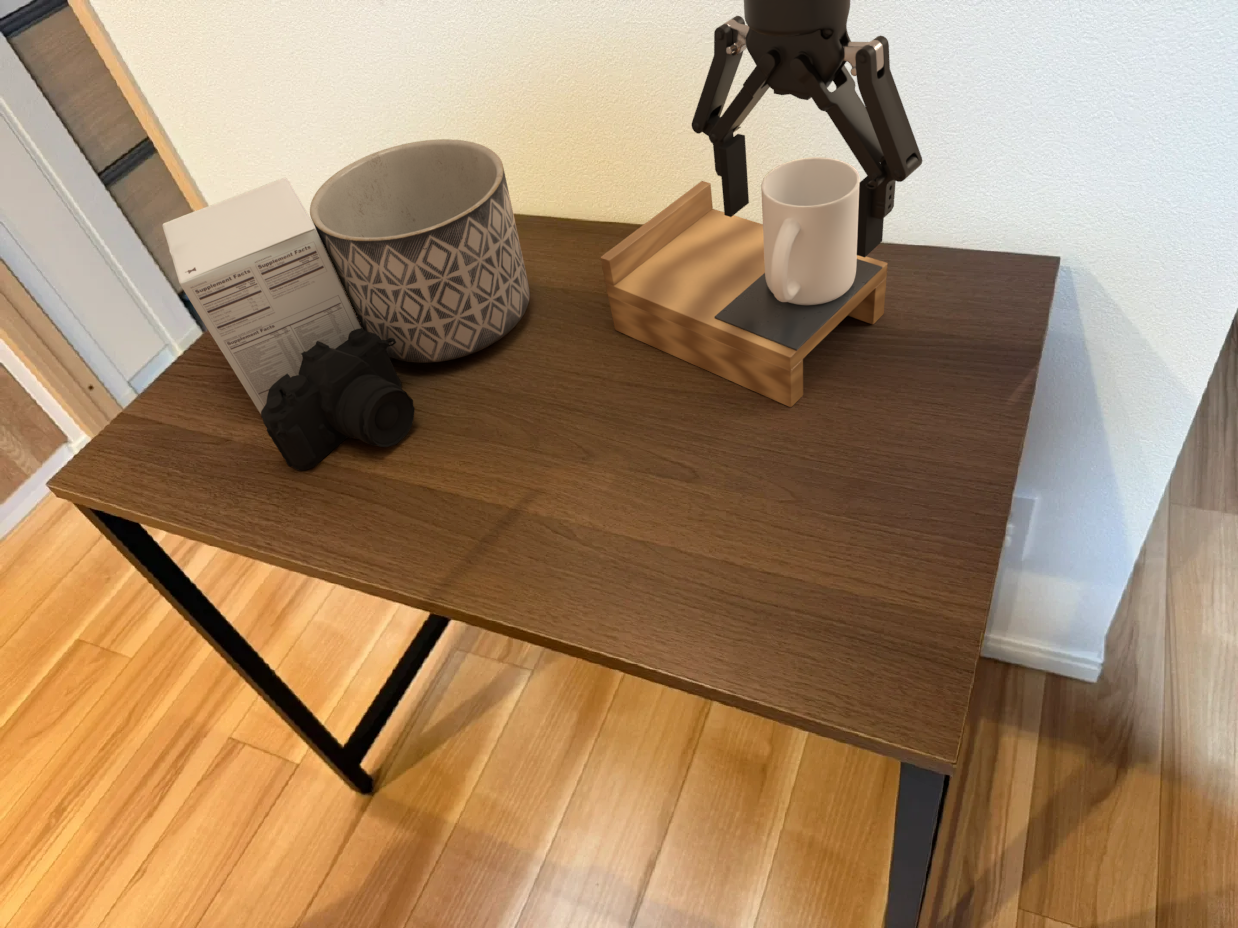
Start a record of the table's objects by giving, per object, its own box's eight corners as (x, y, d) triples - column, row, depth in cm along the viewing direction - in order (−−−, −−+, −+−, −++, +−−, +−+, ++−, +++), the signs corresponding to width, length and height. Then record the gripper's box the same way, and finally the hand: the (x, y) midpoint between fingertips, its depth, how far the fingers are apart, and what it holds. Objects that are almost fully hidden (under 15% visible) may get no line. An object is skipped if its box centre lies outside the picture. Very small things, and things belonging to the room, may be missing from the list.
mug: (820, 341, 76) (821, 238, 68) (733, 322, 79) (726, 222, 72) (868, 264, 82) (874, 162, 75) (786, 249, 86) (784, 151, 78)
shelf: (883, 314, 86) (890, 235, 80) (791, 408, 79) (789, 329, 73) (708, 253, 98) (701, 180, 92) (614, 330, 91) (600, 257, 85)
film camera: (340, 499, 80) (300, 430, 74) (277, 463, 85) (234, 395, 79) (452, 399, 88) (424, 328, 81) (388, 371, 93) (357, 302, 86)
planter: (380, 400, 89) (319, 262, 77) (356, 302, 102) (301, 172, 90) (558, 342, 92) (525, 200, 80) (512, 254, 105) (478, 121, 93)
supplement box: (383, 371, 93) (317, 227, 80) (264, 424, 90) (176, 283, 77) (351, 312, 102) (286, 174, 89) (241, 358, 99) (158, 222, 86)
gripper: (628, -37, 66) (663, 213, 81) (935, -3, 52) (908, 291, 67) (690, -70, 69) (712, 176, 84) (995, -46, 56) (956, 243, 71)
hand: (799, 228), depth 76 cm, fingers open, 13 cm apart
